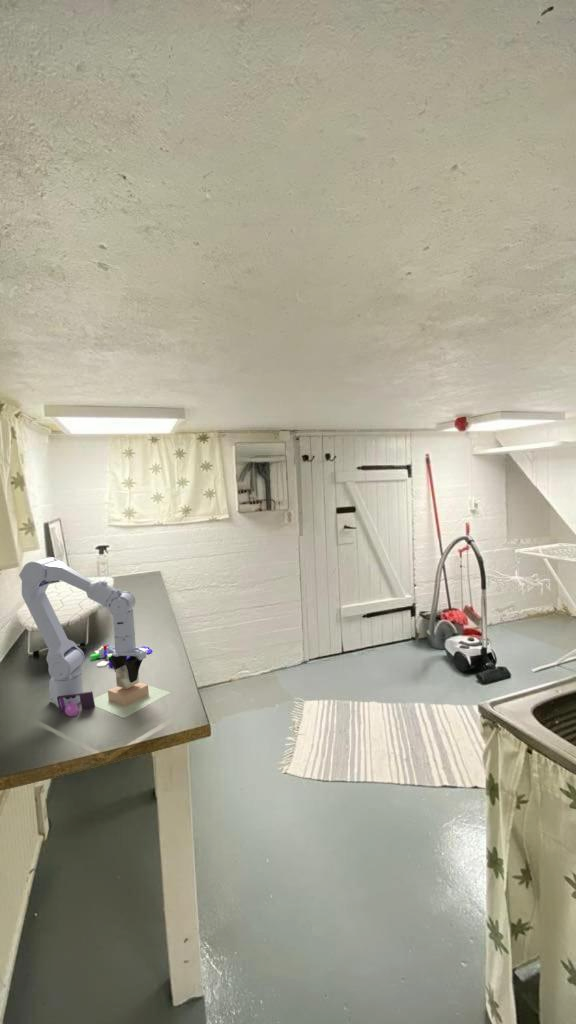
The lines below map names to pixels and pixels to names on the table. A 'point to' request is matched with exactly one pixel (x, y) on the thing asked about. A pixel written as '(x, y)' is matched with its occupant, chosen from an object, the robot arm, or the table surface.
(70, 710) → the purple and pink piece
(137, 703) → the base plate
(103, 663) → the building block set
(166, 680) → the table surface
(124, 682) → the top brick
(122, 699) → the base brick
